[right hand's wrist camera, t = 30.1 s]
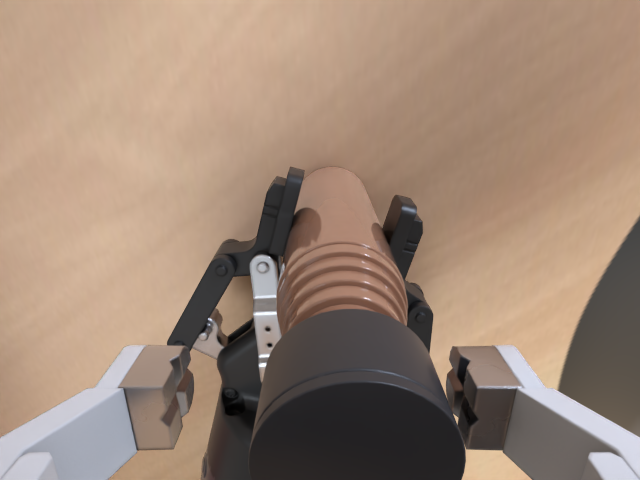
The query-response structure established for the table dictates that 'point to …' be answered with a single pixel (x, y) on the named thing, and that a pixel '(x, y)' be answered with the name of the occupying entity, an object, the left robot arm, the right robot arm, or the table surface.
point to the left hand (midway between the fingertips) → (352, 188)
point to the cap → (353, 405)
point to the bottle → (337, 254)
